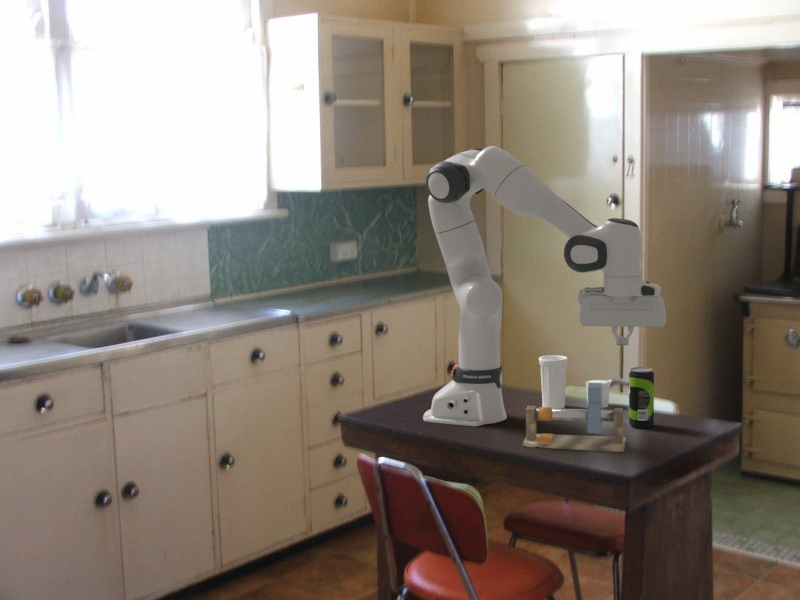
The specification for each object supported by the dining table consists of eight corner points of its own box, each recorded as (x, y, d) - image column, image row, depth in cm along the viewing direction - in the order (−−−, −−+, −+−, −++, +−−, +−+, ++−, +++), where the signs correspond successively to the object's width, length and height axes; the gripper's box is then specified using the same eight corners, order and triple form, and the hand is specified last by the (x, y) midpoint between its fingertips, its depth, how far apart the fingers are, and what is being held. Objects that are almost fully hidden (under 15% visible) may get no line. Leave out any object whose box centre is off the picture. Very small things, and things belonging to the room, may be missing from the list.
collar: (587, 432, 255) (587, 387, 254) (589, 425, 262) (589, 381, 260) (600, 433, 254) (600, 388, 253) (602, 426, 261) (602, 382, 260)
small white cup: (582, 403, 302) (582, 379, 302) (606, 402, 303) (606, 378, 302) (589, 409, 296) (589, 384, 295) (613, 408, 296) (613, 383, 295)
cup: (544, 403, 304) (543, 354, 302) (571, 405, 300) (571, 356, 298) (535, 410, 297) (534, 359, 295) (563, 412, 293) (562, 361, 291)
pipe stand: (522, 447, 258) (522, 411, 257) (527, 438, 267) (527, 402, 266) (623, 451, 252) (623, 414, 251) (625, 441, 261) (625, 405, 260)
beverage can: (658, 425, 276) (658, 368, 274) (645, 430, 271) (645, 372, 270) (637, 422, 280) (637, 365, 278) (624, 426, 276) (624, 369, 274)
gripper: (577, 288, 251) (577, 346, 253) (666, 289, 246) (666, 347, 248) (579, 285, 257) (579, 342, 259) (666, 285, 252) (666, 343, 254)
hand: (622, 345), depth 254 cm, fingers closed
